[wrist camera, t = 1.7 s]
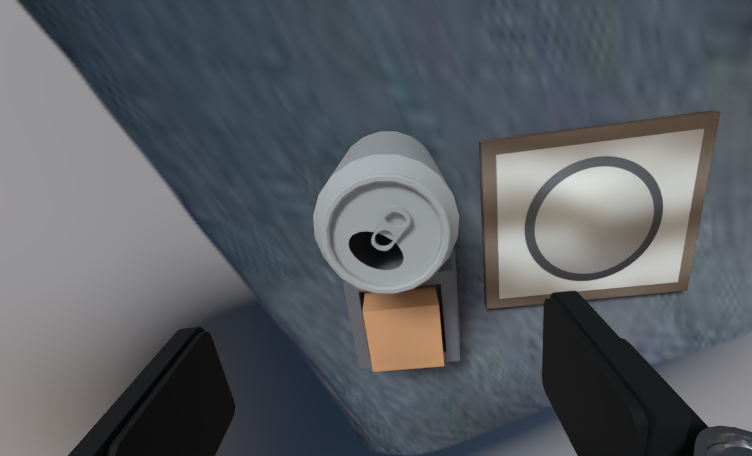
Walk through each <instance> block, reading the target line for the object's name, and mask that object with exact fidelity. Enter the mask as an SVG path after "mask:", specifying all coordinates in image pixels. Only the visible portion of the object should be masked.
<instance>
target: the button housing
mask: <svg viewBox="0 0 752 456" xmlns="http://www.w3.org/2000/svg"><path fill="white" fill-rule="evenodd" d="M426 285H435V289H436V294H437V298H438V303H439V312H440V323H441V334H442V345H443V357H444V362H453V361H460V350H459V345H461V331H460V316H459V301H458V286H457V271H456V256H455V247H453V250H452V252H451V254H450V257H449V258H448V259H447V261H446V262H445V263H444V264H443V265H442V266H441V267H440V268H439V270H438V271H437V272H436V273H435V274H434V275H433V276H432V277H431V278H430V279H429V280H427V281H426V282H424V283H423V284H421V285H419V286H426ZM343 286H344V291H345V297H346V302H347V307H348V312H349V317H350V323H351V328H352V333H353V338H354V344H355V349H356V354H357V359H358V364H359V369H366V368H372V363H371V357H370V352H369V346H368V340H367V335H366V329H365V323H364V317H363V304H364V297H365V290H361V289H358V288H356V287H354V286H353V285H351V284H350V283H348V282H346V281H345V280H343Z"/></svg>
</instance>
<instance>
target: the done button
mask: <svg viewBox="0 0 752 456" xmlns="http://www.w3.org/2000/svg"><path fill="white" fill-rule="evenodd" d="M363 317H364V323H365V329H366V335H367V340H368V346H369V352H370V357H371V363H372V369H373V372H378V371H391V370H403V369H416V368H428V367H441V366H444V357H443V345H442V334H441V323H440V312H439V303H438V298H437V294H436V289H435V285H426V286H418V287H416V288H414V289H412V290H408V291H404V292H400V293H397V294H375V293H371V292H368V291H365V297H364V304H363Z"/></svg>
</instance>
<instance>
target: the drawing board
mask: <svg viewBox="0 0 752 456" xmlns="http://www.w3.org/2000/svg"><path fill="white" fill-rule="evenodd" d="M719 116H720V112H717V111H707V112H699V113H692V114H684V115H676V116H669V117H661V118H653V119H646V120H638V121H630V122H623V123H615V124H607V125H600V126H592V127H584V128H577V129H569V130H561V131H554V132H546V133H539V134H531V135H523V136H516V137H508V138H500V139H493V140H485V141H479V160H480V187H481V214H482V240H483V267H484V294H485V305H486V308H487V309H491V308H502V307H513V306H524V305H535V304H544V301H545V299H549V298H550V296H551V294H552V293H553V292H564V291H577V292H578V293H579V294H580V295H581V296H582V297H583V298H584V299H585V300H589V299H600V298H611V297H622V296H633V295H644V294H654V293H665V292H676V291H687V289H688V284H689V278H690V273H691V267H692V262H693V257H694V251H695V246H696V240H697V235H698V230H699V224H700V219H701V213H702V208H703V203H704V197H705V192H706V186H707V181H708V176H709V170H710V165H711V159H712V154H713V149H714V143H715V138H716V132H717V127H718V122H719Z"/></svg>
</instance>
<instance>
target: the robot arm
mask: <svg viewBox="0 0 752 456" xmlns="http://www.w3.org/2000/svg"><path fill="white" fill-rule="evenodd" d="M542 382H543V387H544V390H545V392H546V395H547V396H548V398H549V400H550V402H551V404H552V406H553V408H554V410H555V412H556V414H557V416H558V418H559V420H560V422H561V424H562V426H563V428H564V430H565V431H566V434H567V436H568V437H569V439H570V442H571V443H572V445H573V447H574V449H575V451H576V453H577V455H578V456H752V432H749V431H745V430H742V429H738V428H735V427H726V426H715V427H708V426H707V425H706V424H705V423H704V422H703V421H702V420H701V419H700V418H699V417H698V415H696V413H695V412H694V411H693V410H692V409H691V408H690V407H689V406H688V405H687V404H686V403H685V402H684V401H683V400H682V398H681V397H680V396H679V395H678V394H677V393H676V392H675V391H674V390H673V389H672V388H671V387H670V386H669V385H668V384H667V382H666V381H665V380H664V379H663V378H662V377H661V376H660V375H659V374H658V373H657V372H656V371H655V370H654V369H653V368H652V367H651V365H650V364H649V363H648V362H647V361H646V360H645V359H644V358H643V357H642V356H641V355H640V354H639V353H638V352H637V351H636V349H635V348H634V347H633V346H632V345H631V344H630V343H629V342H627V341H626V340H625V339H622V338H620V337H619V336H618V335H617V334H616V333H615V332H614V331H613V330H612V329H611V328H610V327H609V326H608V324H607V323H606V322H605V321H604V320H603V319H602V318H601V317H600V316H599V315H598V314H597V312H596V311H595V310H594V309H593V308H592V307H591V306H590V305H589V304H588V303H587V302H586V301H585V299H584V298H583V297H582V296H581V295H580V294H579V293H578V292H577V291H564V292H553V293H552V294H551V296H550V298H549V299H545V301H544V321H543V363H542ZM234 413H235V403H234V400H233V397H232V394H231V391H230V388H229V385H228V383H227V380H226V377H225V374H224V371H223V368H222V365H221V363H220V360H219V357H218V354H217V351H216V348H215V345H214V343H213V340H212V337H211V335H210V333H209V332H205V330H204V329H203V328H201V327H195V328H186V329H180V330H178V331H177V332H176V333H175V334H174V335H173V337H172V338H171V339H170V340H169V341H168V342H167V343H166V345H165V346H164V347H163V348H162V349H161V350H160V351H159V353H158V354H157V355H156V356H155V357H154V358H153V359H152V361H151V362H150V363H149V364H148V365H147V366H146V367H145V368H144V370H143V371H142V372H141V373H140V374H139V375H138V376H137V378H136V379H135V380H134V381H133V382H132V383H131V384H130V386H129V387H128V388H127V389H126V390H125V391H124V393H123V394H122V395H121V396H120V397H119V398H118V399H117V400H116V402H115V403H114V404H113V405H112V406H111V407H110V408H109V410H108V411H107V412H106V413H105V414H104V415H103V417H102V418H101V419H100V420H99V421H98V422H97V424H95V425H94V427H93V428H92V429H91V430H90V431H89V432H88V434H87V435H86V436H85V437H84V438H83V439H82V440H81V441H80V443H79V444H78V445H77V446H76V447H75V448H74V449H73V451H72V452H71V453H70V454H69V455H68V456H215V454H216V452H217V450H218V448H219V446H220V444H221V442H222V440H223V437H224V435H225V433H226V431H227V429H228V427H229V425H230V423H231V421H232V419H233V416H234Z"/></svg>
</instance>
